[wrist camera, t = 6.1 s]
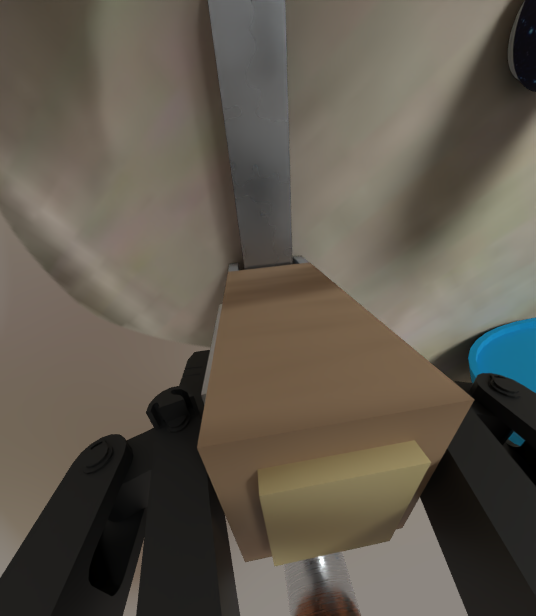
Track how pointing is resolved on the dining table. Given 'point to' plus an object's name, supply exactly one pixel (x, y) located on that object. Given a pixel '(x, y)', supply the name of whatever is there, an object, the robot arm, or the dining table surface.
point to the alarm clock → (507, 356)
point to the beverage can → (524, 45)
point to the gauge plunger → (320, 587)
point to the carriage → (317, 417)
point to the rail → (256, 123)
